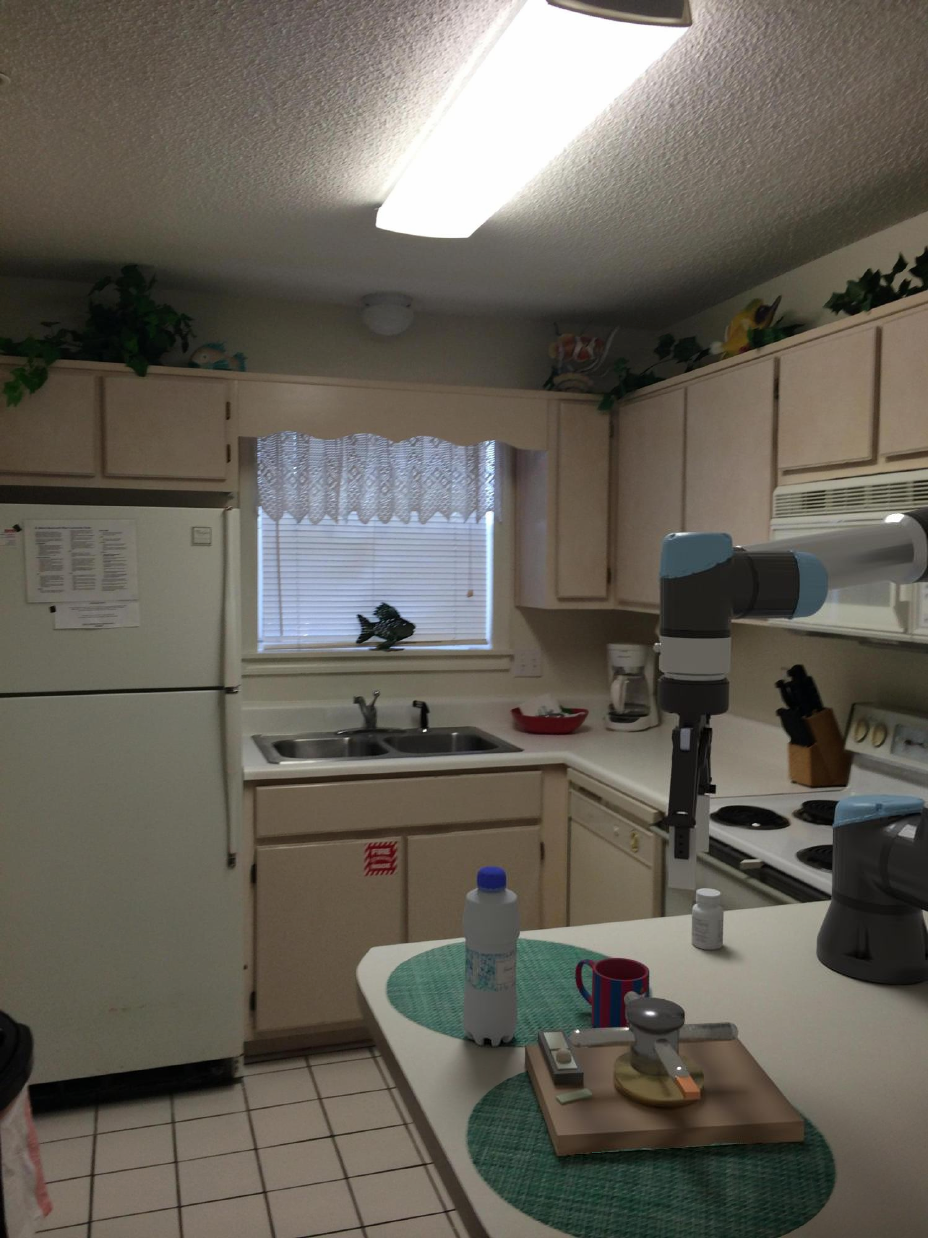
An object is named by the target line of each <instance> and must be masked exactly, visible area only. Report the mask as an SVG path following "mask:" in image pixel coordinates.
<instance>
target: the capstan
mask: <svg viewBox="0 0 928 1238" xmlns="http://www.w3.org/2000/svg"><path fill="white" fill-rule="evenodd" d="M624 1002H625V1005H626V1008H625V1017H626V1020H627V1021H628V1022H629V1023H630V1027H615V1028H594V1027H593V1028H578V1029H574V1030H572V1031H571V1032H570V1035H569V1036H568V1039H569V1041H570V1043H571V1045H572V1046H573V1047H575V1048H598V1047H618V1046H630V1049H629V1052H627V1053H624V1054H622V1055H621V1056H619V1057H618V1058H617V1059H616V1061H615V1063H614V1070H613V1080H614V1084H615V1086H616V1087H617V1089H618V1090H619V1091H620V1092H621V1093H623V1094H624V1095H625V1096H627V1097H629V1098H630V1099H632V1100H635V1101H637V1102H640V1103H643V1104H646V1105H651V1106H657V1107H679V1106H684V1105H687V1104H690V1103H693V1102H694V1101H696V1100H697V1099H700V1097H701V1095H702V1093H703V1090H704V1074H703V1071H702V1069H701V1068H700V1067H699V1066H698V1065H697V1064H696V1063H695V1062H694V1061H692V1060H691V1059H689V1058H687V1057H685V1056H683V1055H680V1054H679V1043H699V1042H720V1041H733V1040H735V1039H736V1038H737V1037H738V1036H739V1029H738V1027H737V1026H736V1024H734V1023H733V1022H731V1021H729V1022H728V1021H726V1022H724V1021H723V1022H722V1021H721V1022H704V1023H702V1022H701V1023H685V1022H686V1012H685V1009H684V1008H683V1007H682V1006H681V1005H679V1004H677V1003H676V1002H674V1001H671V1000H668V999H665V998H660V997H650V996H649V997H646V998H640V996H639V995H638V994H637V993H636V992H633V991H631V992H628V993H627V994H626V995H625V997H624Z"/></svg>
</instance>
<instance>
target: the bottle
mask: <svg viewBox="0 0 928 1238" xmlns="http://www.w3.org/2000/svg"><path fill="white" fill-rule="evenodd" d="M476 875H477V876H476V886H477V887H476V888H473V889H472V890H470V891H469V892H468V893H467V894H466V897H465V902H464V909H463V914H462V915H463V916H462V919H461V920H462V921H461V923H462V927H463V930H462V934H463V935H462V936H463V937H464V939H465V947H464V948H465V950H464V951H465V957H464V958H465V959H464V960H465V964H464V965H465V966H464V968H465V969H464V972H465V973H464V974H465V975H464V983H465V984H464V996H463V1008H462V1022H463V1030H464V1033H465V1034H466V1035H465V1036H467V1038H468V1039H470V1040H474V1041H475V1043H476V1045H479V1046H483V1045H484V1042H485V1039H489V1040H490V1041H491V1042H490V1043H491V1046H492V1047H497V1046H499V1045H500V1043H501V1041H502V1042H503V1043H505V1044H508V1043H510V1042H511V1040H512V1039H513V1037H514V1035H515V1033H516V1032H515V1031H516V1027H517V1025H518V1017H519V1016H518V1013H519V1012H518V1011H519V1010H518V998H517V997H518V996H517V961H518V960H517V958H518V957H517V952H518V948H517V947H518V942H517V941H518V939H519V938H520V935H521V931H520V928H521V924H522V923H521V917H520V909H519V901H518V899H519V898H518V896H517V893H515V891H512V890H510V889H508V888H507V874H506V871H505V870H504V868H501V867H498V866H494V865H489V866H483V867H482V868H479V870H478V871H477V874H476Z"/></svg>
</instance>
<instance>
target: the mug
mask: <svg viewBox="0 0 928 1238" xmlns="http://www.w3.org/2000/svg"><path fill="white" fill-rule="evenodd" d="M584 965H587V966H589V967H590V968H591V971H592V972H591V975H592V976H591V977H592V978H591V984H592V985H591V994H590V993H589V992H588V991H587V989H586V988H585V986H584V983H583V977H582V973H583V967H584ZM574 972H575V973H574V974H575V975H574V979H575V984H576V988H577V991H578V993H579V994H580V995H581V996H582V998H583V999H584V1000H585V1001H586V1002H587V1004H589V1005H590V1006H591V1020H590V1021H591V1025H592V1027H593V1026H594V1027H595V1028H615V1027H630V1023H629V1022H628V1021H627V1020H626V1017H625V1008H626V1005H625V1002H624V997H625V995H626V994H627V993H628V992H631V991H633V992H636V993H637V994H638V995H639V996H640V998H646V997H650V973H651V972H650V969H649V967H648V966H647V965H646V964H644V963H642V962H640V961H637V960H635V959H631V958H624V957H607V958H603V959H599V960H597V961H596V962H595V961H594V960H591V959H589V958H585V959H581V960H580V961H579V962H577V965H576V966H575V971H574ZM594 1027H593V1028H594Z"/></svg>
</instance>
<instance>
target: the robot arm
mask: <svg viewBox="0 0 928 1238" xmlns="http://www.w3.org/2000/svg"><path fill="white" fill-rule="evenodd" d="M659 561H660V562H659V571H658V588H659V620H658V621H659V624H658V625H659V639H658V640H659V642H655V643H654V645H653V647H652V648H653V651H654V652H656V653H660V655H658V657H659V658H658V670H660V671H661V672H662V673H664V674H663V675H660V676H659V678H658V679H657V707H658V709H659V710H660V711H662V712H665V713H667V714H676V715H677V716H679V717H678V718H679V719H678V725H675V727H674V728H673V729H672V732H671V742H672V743H671V744H672V751H671V767H670V768H671V769H670V771H671V772H670V781H669V782H670V783H669V794H668V807H667V808H668V810H667V815H666V816H662V817H661V825H662V826H665V827H668V831H669V834H668V877H667V878H668V881H667V882H668V883H667V884H668V885H667V886H668V887H667V888H674V889H683V890H689V891H696V890H697V889H696V888H697V887H696V886H697V854H698V853H697V852H701V853H702V852H703V853H709V851H710V847H709V845H710V809H711V808H710V807H711V806H710V805H711V803H710V801H711V794H712V795H716V793H717V784H712V782H713V777H712V765H711V763H712V761H711V758H712V757H711V753H712V742H713V727H711V726H710V725H711V723H710V722H711V718H712V716H719V715H723V714H726V713H727V712H728V711H729V708H730V681H729V680H728V678H727V677H725V676H726V675H727V674H729V673H730V672H731V654H732V653H731V651H732V650H731V647H732V636H731V634H732V633H731V628H732V620H741V619H743V620H744V619H745V620H746V619H747V620H752V619H753V620H754V619H756V620H766V619H767V620H769V619H771V620H773V619H775V620H776V619H778V620H779V619H785V620H786V619H787V620H789V621H791V620H793V619H799V618H807V617H811V616H814V615H815V614H816V613H817V612H819V611H820V610H821V609H822V607H823V606H824V604H825V602H826V600H827V598H828V597H827V596H828V593H829V591H832V590H838V589H844V588H850V587H855V586H861V585H867V584H873V583H877V582H883V581H884V582H885V581H888V582H891V583H893V584H895V585H900V586H901V585H903V586H904V585H910V584H916V583H917V584H918V583H928V506H927V507H923V508H919V509H915V510H910V511H905V512H900V513H894V514H891V515H887V516H886V517H884V518H883V519H881V521H880V522H879V523H878V524H877V523H876V524H871V525H866V526H865V525H864V526H859V527H852V528H845V529H837V530H834V531H833V530H832V531H825V532H819V533H813V534H812V533H811V534H807V535H799V536H793V537H787V538H786V537H785V538H781V539H779V538H778V539H774V540H768V541H761V542H760V541H759V542H754V543H747V544H740V545H734V543H733V537H732V535H730V534H729V533H727V532H703V531H702V532H701V531H700V532H698V531H697V532H696V531H691V532H690V531H689V532H688V531H687V532H671V533H669V534H667V535H665V537H664V539H663V540H662V544H661V552H660V560H659ZM709 794H710V795H709ZM833 820H834V821H833V823H832V860H831V861H832V863H831V865H832V866H831V867H832V868H831V899H830V903H829V906H828V909H826V910H827V911H826V913H825V916H824V918H823V921H822V923H821V925H820V928H819V930H818V931H819V932H818V934H817V937H816V946H815V948H816V957H817V958H818V959H819V960H820V962H821V963H822V964H824V965H826V967H828V968H830V969H832V970H834V971H836V972H838V973H840V974H842V975H845V976H849V977H852V978H856V979H859V980H863V981H868V982H873V983H880V984H887V985H888V984H889V985H890V984H891V985H909V984H911V985H912V984H917V983H921V982H924V981H927V980H928V928H927V923H926V920H925V917H924V916H925V915H924V912H927V913H928V801H925V799H923V798H920V797H917V796H910V795H900V794H860V795H858V794H857V795H853V796H852V795H850V796H846V797H844V798H842V799H841V800H839V801H838V802H837V804H836V806H835V810H834V818H833Z"/></svg>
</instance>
